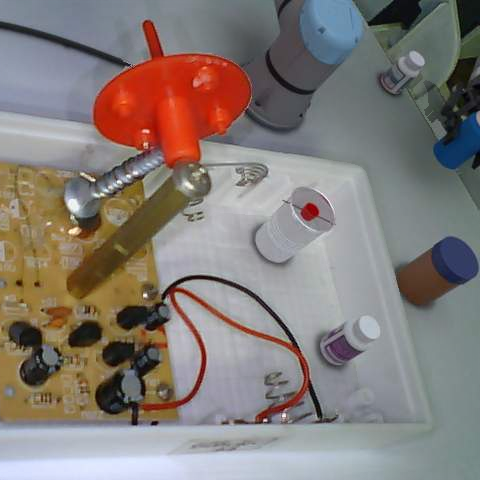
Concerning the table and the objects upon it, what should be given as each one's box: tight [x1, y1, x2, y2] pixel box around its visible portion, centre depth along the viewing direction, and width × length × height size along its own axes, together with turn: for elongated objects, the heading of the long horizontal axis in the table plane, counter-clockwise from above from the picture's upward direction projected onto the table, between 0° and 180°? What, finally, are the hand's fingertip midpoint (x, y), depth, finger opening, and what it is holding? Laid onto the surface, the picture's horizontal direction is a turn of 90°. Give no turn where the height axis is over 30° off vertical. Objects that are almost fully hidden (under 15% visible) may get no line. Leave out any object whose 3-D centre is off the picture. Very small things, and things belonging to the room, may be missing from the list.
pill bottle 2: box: [380, 50, 426, 95], centre depth 168 cm, size 5×5×9 cm
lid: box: [431, 235, 480, 286], centre depth 136 cm, size 8×8×2 cm
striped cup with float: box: [254, 185, 337, 264], centre depth 129 cm, size 10×8×12 cm
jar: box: [396, 246, 461, 307], centre depth 140 cm, size 8×8×11 cm
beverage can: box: [432, 111, 480, 171], centre depth 152 cm, size 6×6×12 cm
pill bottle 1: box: [319, 314, 381, 366], centre depth 124 cm, size 5×5×10 cm
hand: (463, 152), depth 148 cm, fingers closed on beverage can, 6 cm apart
